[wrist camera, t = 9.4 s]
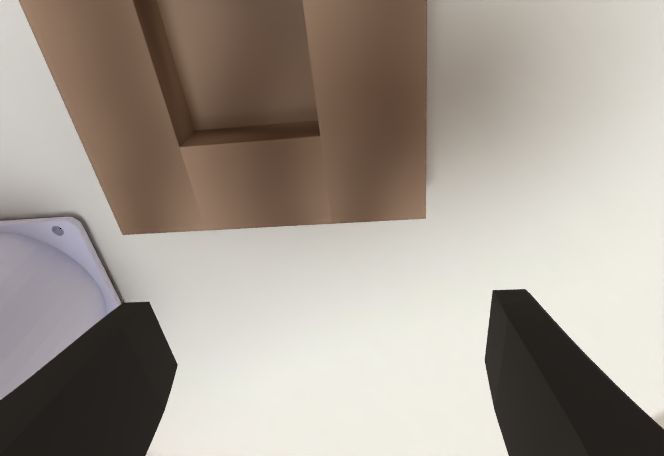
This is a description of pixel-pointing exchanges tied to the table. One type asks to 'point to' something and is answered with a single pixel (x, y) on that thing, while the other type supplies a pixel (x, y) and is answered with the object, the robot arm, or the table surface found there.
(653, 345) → the table surface
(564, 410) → the robot arm
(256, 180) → the pocket block
